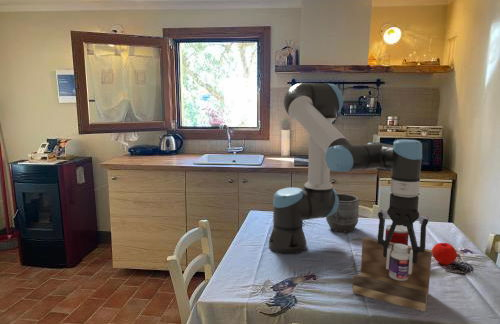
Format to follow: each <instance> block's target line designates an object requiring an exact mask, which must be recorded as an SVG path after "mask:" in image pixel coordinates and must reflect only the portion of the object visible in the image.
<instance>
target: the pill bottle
mask: <svg viewBox="0 0 500 324" xmlns="http://www.w3.org/2000/svg"><path fill="white" fill-rule="evenodd" d="M408 246H409V245H408ZM408 246H406V245H404V244H394V246H393V250H394V251H392V252H391V253H390V264H389V276H390V277H391V278H393V279H395V280H399V281H405V280H407V279H408V270H409V257H410V255H409V254H408V253H407V252H408Z"/></svg>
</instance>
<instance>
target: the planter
mask: <svg viewBox="0 0 500 324" xmlns="http://www.w3.org/2000/svg"><path fill="white" fill-rule="evenodd" d="M337 196H338V198H339V204H338V208H337V210H336V212H335V213H334V214H333V215H331V216H327V217H325V220H326V223H327V225H328V226H329V228H330V229H331V230H332V231H335V232H338V233H350V231H351V232H352V231H353V230H354V229H355V228H356V226H357V224H358V223H359V211H360V210H359V208H360V198H359V197H358V196H357V195H354V194H350V193H337Z"/></svg>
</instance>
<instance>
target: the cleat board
mask: <svg viewBox="0 0 500 324" xmlns="http://www.w3.org/2000/svg"><path fill="white" fill-rule="evenodd" d="M377 240H378V239H375V238H369V237H365V236H364V237H363V238H362V241H361V259H360V260H361V261H360V273H359V274H353V277H352V293H353V294H357V295H360V296H364V297H368V298H371V299H374V300H379V301H382V302H386V303H389V304H390V303H391V304H394V305H397V304H398V305H397V306H400V307H404V306H406V307H405V308H408V307H410V308H409V309H412V308H414V309H413V310H415V309H417V310H416V311H419V310H421V311H420V312H423V311H425V312H426V309H427V303H428V297H429V291H430V290H429V289H430V281H431V280H430V278H431V268H432V267H431V265H432V257H433V254H432V249H429V248H425V251H424V252H419V253H418V257H417V262H416V263H413V267H412V273H411V274H408V279H407V280H405V281H399V280H395V279H393V278H391V277H390V276H389V270H388V269H386V262H387V257H384V256H383V249H384V247H383V246H382V245H381V244H378V243H377ZM394 244H397V243H392V242H390V243H389V245H390V246H392V247H391V252H392V251H394V250H393V246H394ZM406 246H408V252H407V253H408V254H409V255H410V251H411V250H412V246H411V245H409V244H408V245H406Z"/></svg>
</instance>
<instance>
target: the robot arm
mask: <svg viewBox="0 0 500 324" xmlns="http://www.w3.org/2000/svg"><path fill="white" fill-rule="evenodd" d="M343 105H344V97H343V93H342V91H341V89H340V88H339V86H337V85H336V84H334V83H329V82H323V83H322V82H321V83H319V82H317V83H316V82H315V83H314V82H300V83H296V84H294V85H292V86H291V87H289V88H288V90H286V92H285V95H284V99H283V107H284V110H285V112H286V114H287V115H288V116H289V117H290V118H291V119H292V120H295V121H297V122H298V123H299V124H300V125H301V127H302V128H303V129H304V130H305V131H306V132H307V133H308V134H309V135H308V136H309V137H308V167H307V169H308V170H307V171H308V172H307V181H306V182H305V183H304V185H303V189H302V188H300V187H295V186H294V187H292V186H291V187H284V188H281V189H278V190H276V192H275V193H274V194H273V200H272V201H273V202H272V206H273V207H272V208H273V209H272V210H273V214H272V216H273V221H272V223H273V224H272V225H273V226H272V231H271V233H270V236H269V238H268V248H269V247H270V248H269V249H270V250H272V251H273V252H275V253H279V254H287V255H290V254H298V253H299V254H300V253H302V252H304V251H305V250H306V249H307V239H306V235H305V233H304V230H303V223H304V222H303V221H307V220H314V219H326V217H327V216H331V215H333V214H334V213H335V212H336V210H337V208H338V204H339V198H338V196H337V194H338V192H337V190H336V189H334V185H333V184H332V183H331V181H330V177H331V176H330V175H331V173H330V172H336V173H337V172H342V173H345V172H352V171H362V170H365V171H366V170H373V169H374V170H375V169H382V170H388V171H391V175H390V192H391V193H390V195H389V207H388V209H387V210H382V209H381V210H379V211H378V213H377V216H378V219H379V221H378V222H379V223H378V233H377V239H376V240H377V243H378V244H381V245H382V246H383V247H384V249H383V256H384V257H387V262H386V269H388V270H389V264H390V253H391V247H392V246H390V245H389V243H390V240H391V238H392V235H393V233H394V230H395V228H396V225H401V226H405V227H407V230H408V233H409V237H408V238H409V241H410V246H412V250H411V251H410V257H409V270H408V274H411V273H412V267H413V263H416V262H417V257H418V253H419V252H424V251H425V249H426V241H427V240H426V239H427V238H426V237H427V225H428V223H429V220H430V218H429V217H428V216H423V215H420V213H419V198H420V197H419V194H420V188H421V187H420V185H421V170H422V163H423V162H422V161H423V143H422V142H421V141H420V140H416V139H406V138H405V139H403V138H402V139H396V140H394V141H393V144H389V143H388V144H387V143H382V142H379V141H378V142H367V143H366V144H353V143H351V142H350V141H349V140H348V139H347V138H346V137H345V135H343V134H342V133H341V132H340V131H339V130H338V129H337V128H336V127H335V126H334V125H333V122H334V121H335V120H336V119H337V114H338V113H340V112H341V110H342V108H343ZM388 216H389V218H390V220H391V221H392V223H391V224H390V225H391V227H390V230H389V232H388V235H387V237H386V240H385V239H384V237H385V236H384V235H385V225H386V218H388ZM417 220H419V221H418V222H419V224H420V225H421V226H420V234H419V235H420V236H419V239H420V240H419V246H418V241H417V237H416V232H415V230H414V229H415V228H414V223H415V222H416V221H417Z"/></svg>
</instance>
